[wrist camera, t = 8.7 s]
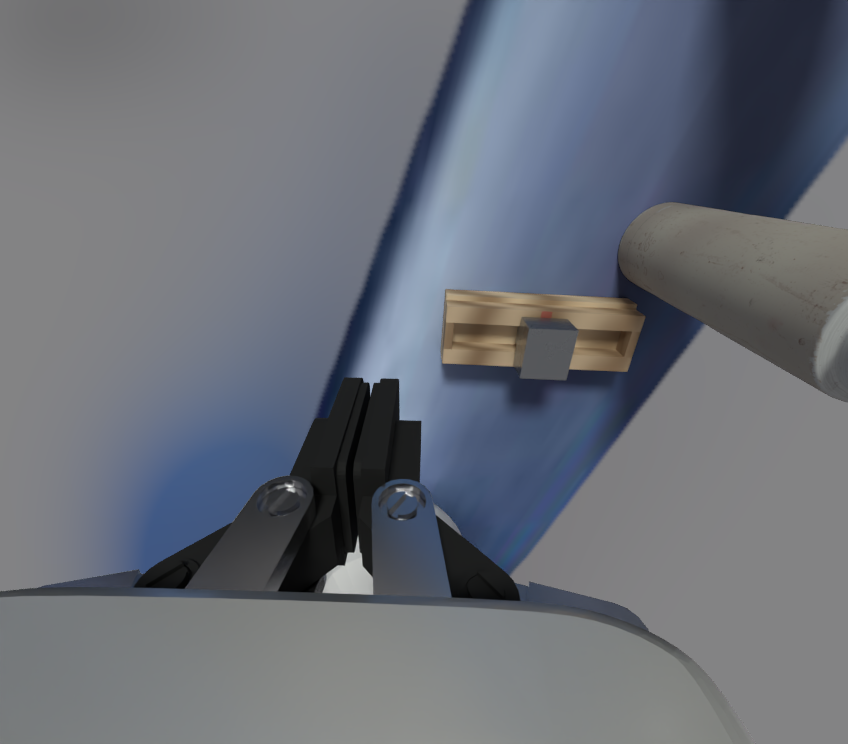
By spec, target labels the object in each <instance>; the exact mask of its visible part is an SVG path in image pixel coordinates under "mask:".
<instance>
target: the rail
mask: <svg viewBox="0 0 848 744" xmlns="http://www.w3.org/2000/svg"><path fill="white" fill-rule="evenodd" d="M636 307H637V304H636V303H634V302H633V301H631V300H630V299H628V298H608V297H588V296H569V295H549V294H529V293H509V292H490V291H470V290H450V289H445V302H444V315H443V327H442V340H441V359H442V363H446V364H468V365H490V366H511V367H514V364H513V363H514V357H515V351H516V346H517V344H516V342H515V341H516V335H517V329H518V326H520V323H521V317H539V318H559V319H568V320H569V321H570V322H571V323H572V324H573V325H574V326H575V327H576V328H577V329H578V331H579V332H578V336H577V340H576V344H575V348H574V352H573V356H572V360H571V364H570V367H569V369H577V370H598V371H620V372H627V371H628V368H629V365H630V362H631V359H632V356H633V353H634V350H635V347H636V344H637V341H638V338H639V335H640V332H641V329H642V326H643V323H644V320H645V317H646V316H644V315H643V314H642V313H640V312H639V311H637V310H636Z"/></svg>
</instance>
